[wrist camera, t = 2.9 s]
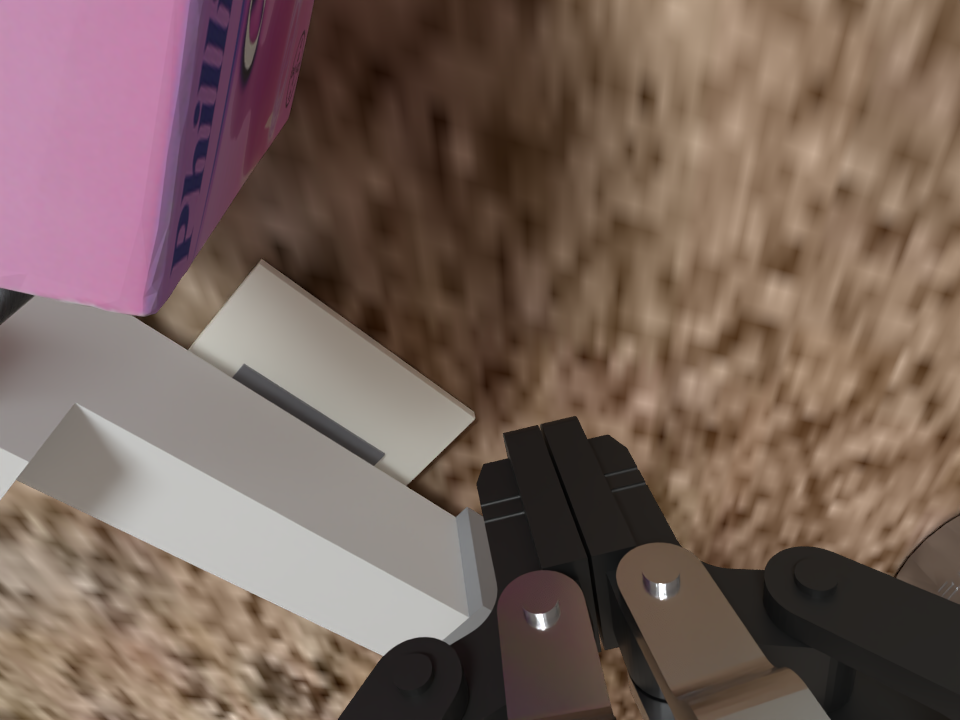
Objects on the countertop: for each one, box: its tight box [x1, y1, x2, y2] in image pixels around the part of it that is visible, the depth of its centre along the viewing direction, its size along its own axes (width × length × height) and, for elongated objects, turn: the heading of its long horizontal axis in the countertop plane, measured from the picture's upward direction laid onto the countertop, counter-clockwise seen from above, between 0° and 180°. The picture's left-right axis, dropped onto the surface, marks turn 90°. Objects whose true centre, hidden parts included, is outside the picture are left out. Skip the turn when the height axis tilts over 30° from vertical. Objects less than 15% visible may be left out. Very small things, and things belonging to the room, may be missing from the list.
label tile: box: [188, 259, 475, 486], centre depth 21 cm, size 8×8×1 cm
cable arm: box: [0, 296, 497, 656], centre depth 16 cm, size 18×4×6 cm, turn 47°
